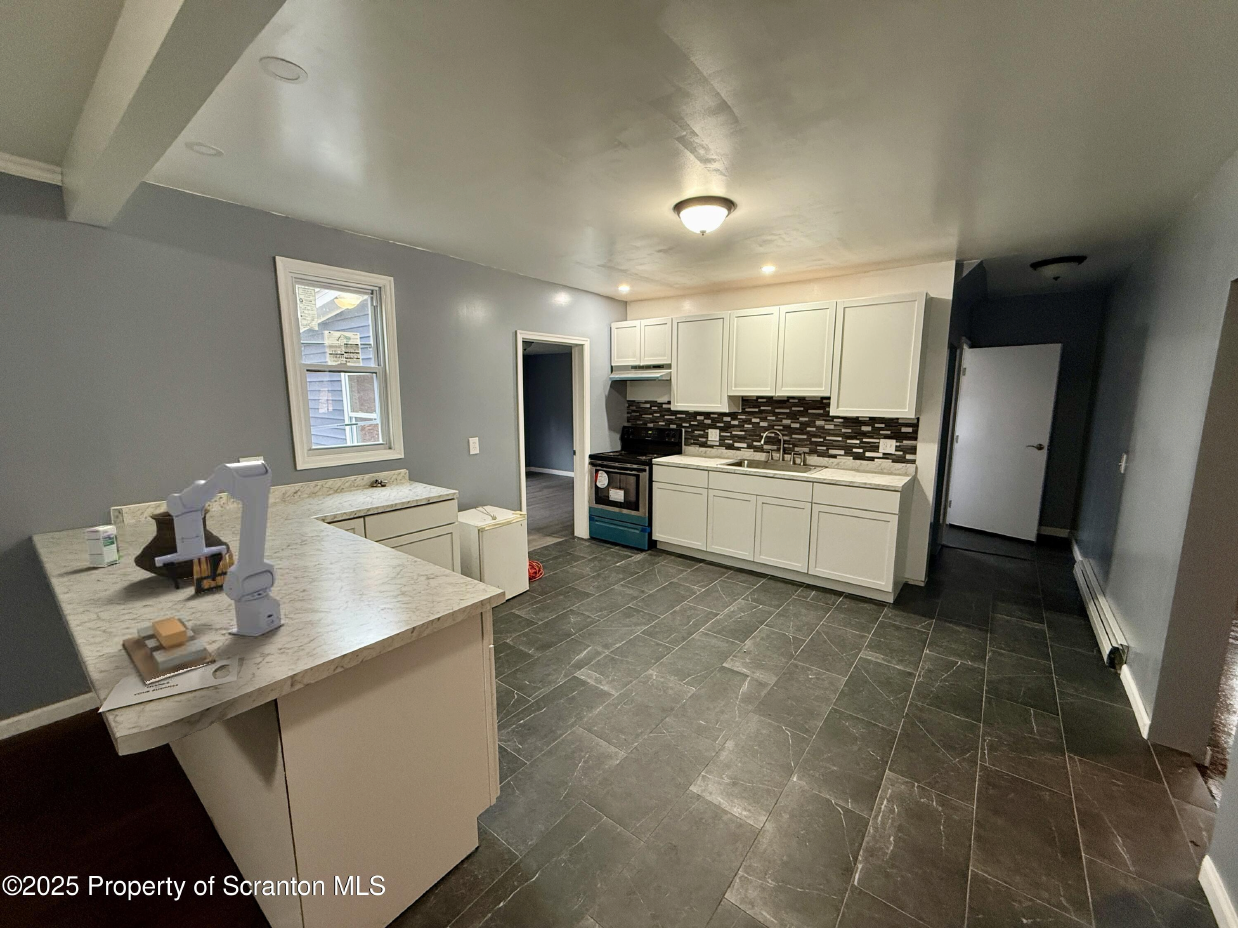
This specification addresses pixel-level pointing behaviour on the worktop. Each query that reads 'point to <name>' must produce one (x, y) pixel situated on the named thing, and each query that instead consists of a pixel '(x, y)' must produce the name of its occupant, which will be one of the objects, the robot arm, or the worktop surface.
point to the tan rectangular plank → (169, 632)
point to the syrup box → (102, 545)
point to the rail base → (147, 663)
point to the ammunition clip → (203, 577)
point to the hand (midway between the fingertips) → (195, 584)
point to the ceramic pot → (172, 547)
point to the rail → (171, 649)
